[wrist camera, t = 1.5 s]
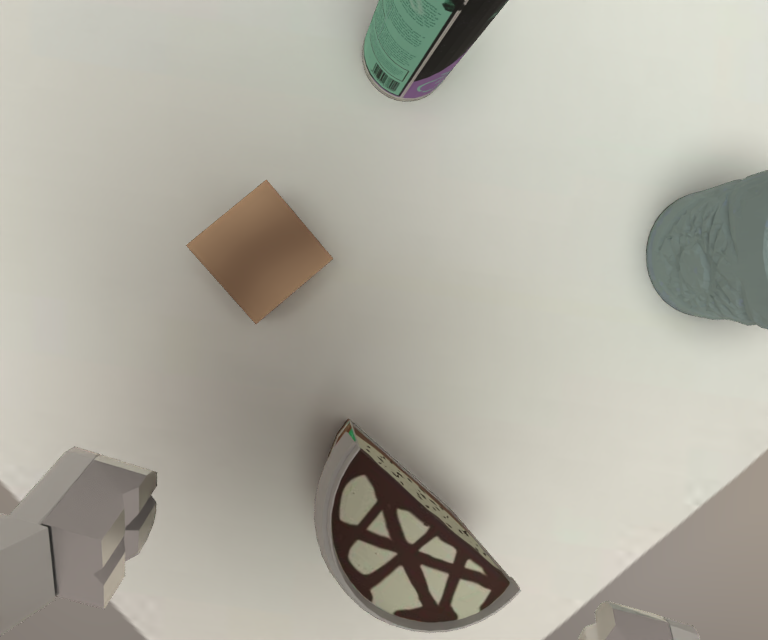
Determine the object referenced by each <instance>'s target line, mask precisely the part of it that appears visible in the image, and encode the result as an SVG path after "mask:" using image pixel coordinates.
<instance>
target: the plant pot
mask: <svg viewBox="0 0 768 640" xmlns="http://www.w3.org/2000/svg"><path fill="white" fill-rule="evenodd" d="M647 268H648V272H649V276H650V279H651V281H652V284H653V286H654V287H655V289H656V291H657V292H658V294H659V295H660V296H661V297H662V299H663V300H664V301H665V302H667V303H668V304H669V305H670V306H672V307H673V308H675V309H677V310H679V311H681V312H683V313H686V314H689V315H693V316H698V317H703V318H708V319H727V320H733V321H736V322H739V323H742V324H745V325H758V326H760V327H761V328H765V329H768V170H766V171H763V172H760V173H757V174H754V175H751V176H748V177H746V178H745V179H743V180H734V181H731V182H728V183H725V184H722V185H720V186H717V187H714V188H711V189H708V190H704V191H700V192H697V193H693V194H690V195H687V196H685V197H683V198H680V199H678V200H677V201H676V202H674V203H673V204H671V205H670V206H669V207H668V208H667V209H666V210H664V211H663V213H662V214H661V215H660V216H659V217H658V219H657V221H656V222H655V224H654V226H653V228H652V230H651V233H650V236H649V240H648V244H647Z"/></svg>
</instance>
